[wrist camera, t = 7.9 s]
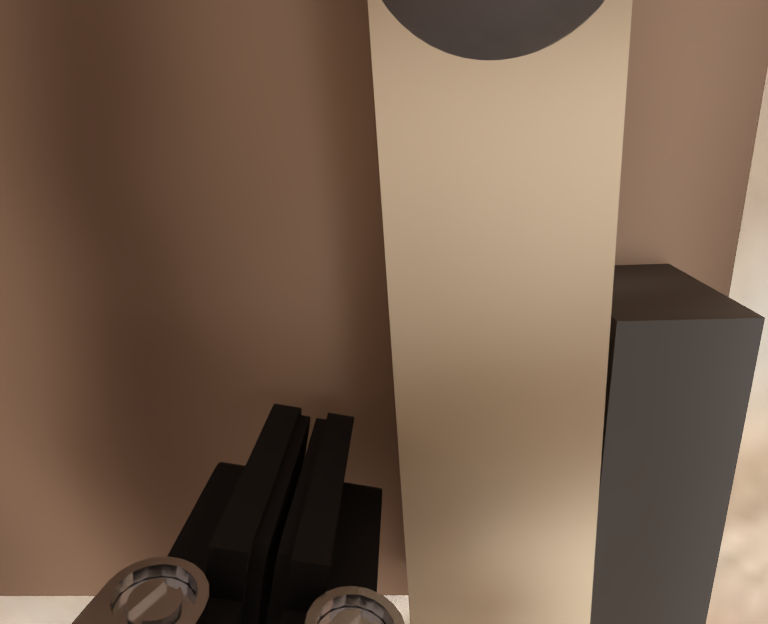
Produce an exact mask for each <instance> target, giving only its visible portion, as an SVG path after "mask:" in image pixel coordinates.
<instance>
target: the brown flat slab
mask: <svg viewBox="0 0 768 624" xmlns="http://www.w3.org/2000/svg"><path fill="white" fill-rule="evenodd" d="M767 67H768V0H633V2H632V16H631V31H630V46H629V60H628V75H627V90H626V104H625V119H624V134H623V148H622V163H621V178H620V192H619V207H618V222H617V236H616V251H615V266H614V280H613V295H612V310H611V324H610V339H609V354H608V368H607V383H606V398H605V412H604V427H603V442H602V456H601V471H600V486H599V500H598V515H597V530H596V544H595V559H594V574H593V588H592V603H591V618H590V624H706V618H707V613H708V608H709V603H710V598H711V593H712V588H713V582H714V577H715V572H716V567H717V562H718V557H719V551H720V546H721V541H722V536H723V531H724V526H725V521H726V515H727V510H728V505H729V500H730V495H731V490H732V484H733V479H734V474H735V469H736V464H737V459H738V453H739V448H740V443H741V438H742V433H743V428H744V423H745V417H746V412H747V407H748V402H749V397H750V392H751V386H752V381H753V376H754V371H755V366H756V361H757V356H758V350H759V345H760V340H761V335H762V330H763V325H764V319H765V318H764V317H762V316H761V315H759V314H757V313H755V312H754V311H752V310H750V309H748V308H747V307H745V306H743V305H741V304H739V303H738V302H736V301H734V300H732V299H731V298H729V291H730V285H731V280H732V274H733V268H734V262H735V256H736V250H737V244H738V238H739V232H740V226H741V220H742V215H743V209H744V203H745V197H746V191H747V185H748V179H749V173H750V167H751V161H752V155H753V150H754V144H755V138H756V132H757V126H758V120H759V114H760V108H761V102H762V96H763V90H764V85H765V79H766V73H767ZM274 404H281V405H287V406H293V407H299V408H301V409H302V411H301V415H303V416H309V417H310V427H309V434H308V441H307V448H308V445H309V441H310V438H311V434H312V431H313V427H314V424H315V421H316V418H320V419H327V415H328V413H334V414H340V415H346V416H352V417H354V423H353V429H352V435H351V442H350V448H349V454H348V460H347V466H346V472H345V478H344V482H346V483H352V484H358V485H364V486H371V487H377V488H382V510H381V528H380V545H379V563H378V581H377V593H379V594H381V595H408V580H407V566H406V551H405V537H404V522H403V508H402V493H401V479H400V464H399V450H398V435H397V421H396V406H395V392H394V377H393V363H392V348H391V334H390V319H389V305H388V290H387V276H386V261H385V247H384V232H383V218H382V203H381V189H380V174H379V160H378V145H377V131H376V116H375V101H374V87H373V72H372V58H371V43H370V29H369V14H368V0H0V596H96V595H97V594H98V592H99V591H100V590H101V589H102V588H103V587H104V585H105V584H106V583H107V582H108V581H109V580H110V579H111V578H112V577H113V576H115V575H116V574H117V573H118V572H119V571H120V570H122V569H124V568H126V567H127V566H129V565H131V564H133V563H135V562H138V561H141V560H145V559H148V558H152V557H165V556H168V554H169V552H170V550H171V548H172V546H173V545H174V543H175V541H176V539H177V537H178V535H179V534H180V532H181V530H182V528H183V526H184V524H185V522H186V521H187V519H188V517H189V515H190V513H191V511H192V510H193V508H194V506H195V504H196V502H197V500H198V498H199V497H200V495H201V493H202V491H203V489H204V487H205V486H206V484H207V482H208V480H209V478H210V476H211V474H212V473H213V471H214V469H215V467H216V466H217V464H218V463H220V462H225V463H231V464H237V465H243V466H245V465H246V463H247V461H248V459H249V457H250V455H251V452H252V450H253V448H254V446H255V444H256V441H257V439H258V437H259V435H260V433H261V431H262V428H263V426H264V424H265V422H266V420H267V417H268V415H269V413H270V411H271V409H272V407H273V405H274ZM307 448H306V452H307Z"/></svg>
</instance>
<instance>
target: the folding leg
mask: <svg viewBox="0 0 768 624" xmlns="http://www.w3.org/2000/svg"><path fill="white" fill-rule="evenodd" d="M632 2H633V0H368V14H369V29H370V43H371V58H372V72H373V87H374V101H375V116H376V131H377V145H378V160H379V174H380V189H381V203H382V218H383V232H384V247H385V261H386V276H387V290H388V305H389V319H390V334H391V348H392V363H393V377H394V392H395V406H396V421H397V435H398V450H399V464H400V479H401V493H402V508H403V522H404V537H405V551H406V566H407V580H408V595H409V609H410V624H590V618H591V603H592V588H593V574H594V559H595V544H596V530H597V515H598V500H599V486H600V471H601V456H602V442H603V427H604V412H605V398H606V383H607V368H608V354H609V339H610V324H611V310H612V295H613V280H614V266H615V251H616V236H617V222H618V207H619V192H620V178H621V163H622V148H623V134H624V119H625V104H626V90H627V75H628V60H629V46H630V31H631V16H632Z"/></svg>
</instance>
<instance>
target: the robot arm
mask: <svg viewBox="0 0 768 624" xmlns="http://www.w3.org/2000/svg"><path fill="white" fill-rule="evenodd" d="M301 411H302V409H301V408H299V407H293V406H287V405H281V404H274V405H273V407H272V409H271V411H270V413H269V415H268V417H267V420H266V422H265V424H264V426H263V428H262V431H261V433H260V435H259V437H258V439H257V441H256V444H255V446H254V448H253V450H252V452H251V455H250V457H249V459H248V461H247V463H246V465H245V466H243V465H237V464H231V463H225V462H220V463H218V464H217V466H216V467H215V469H214V471H213V473H212V474H211V476H210V478H209V480H208V482H207V484H206V486H205V487H204V489H203V491H202V493H201V495H200V497H199V498H198V500H197V502H196V504H195V506H194V508H193V510H192V511H191V513H190V515H189V517H188V519H187V521H186V522H185V524H184V526H183V528H182V530H181V532H180V534H179V535H178V537H177V539H176V541H175V543H174V545H173V546H172V548H171V550H170V552H169V554H168V556H165V557H152V558H148V559H145V560H141V561H138V562H135V563H133V564H131V565H129V566H127V567H126V568H124V569H122V570H120V571H119V572H118V573H117V574H116V575H115V576H113V577H112V578H111V579H110V580H109V581H108V582H107V583H106V584H105V585H104V587H103V588H102V589H101V590H100V591H99V592H98V594H97V595H96V596H95V597H94V598H93V599H92V601H91V602H90V603H89V604H88V605H87V606H86V608H85V609H84V610H83V611H82V612H81V613H80V615H79V616H78V617H77V618H76V619H75V620H74V622H73V623H72V624H404V621H403V618H402V615H401V614H400V612H399V611H398V610H397V608H396V607H395V606H394V604H393V603H392V602H390V601H389V600H388V599H387V598H385V597H384V596H383V595H381V594H379V593H377V581H378V563H379V545H380V528H381V510H382V488H377V487H371V486H364V485H358V484H352V483H346V482H344V478H345V472H346V466H347V460H348V454H349V448H350V442H351V435H352V429H353V423H354V417H352V416H346V415H340V414H334V413H328V415H327V419H320V418H316V421H315V424H314V427H313V431H312V434H311V438H310V441H309V445H308V448H307V441H308V434H309V427H310V417H309V416H303V415H301ZM306 448H307V452H306Z"/></svg>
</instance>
